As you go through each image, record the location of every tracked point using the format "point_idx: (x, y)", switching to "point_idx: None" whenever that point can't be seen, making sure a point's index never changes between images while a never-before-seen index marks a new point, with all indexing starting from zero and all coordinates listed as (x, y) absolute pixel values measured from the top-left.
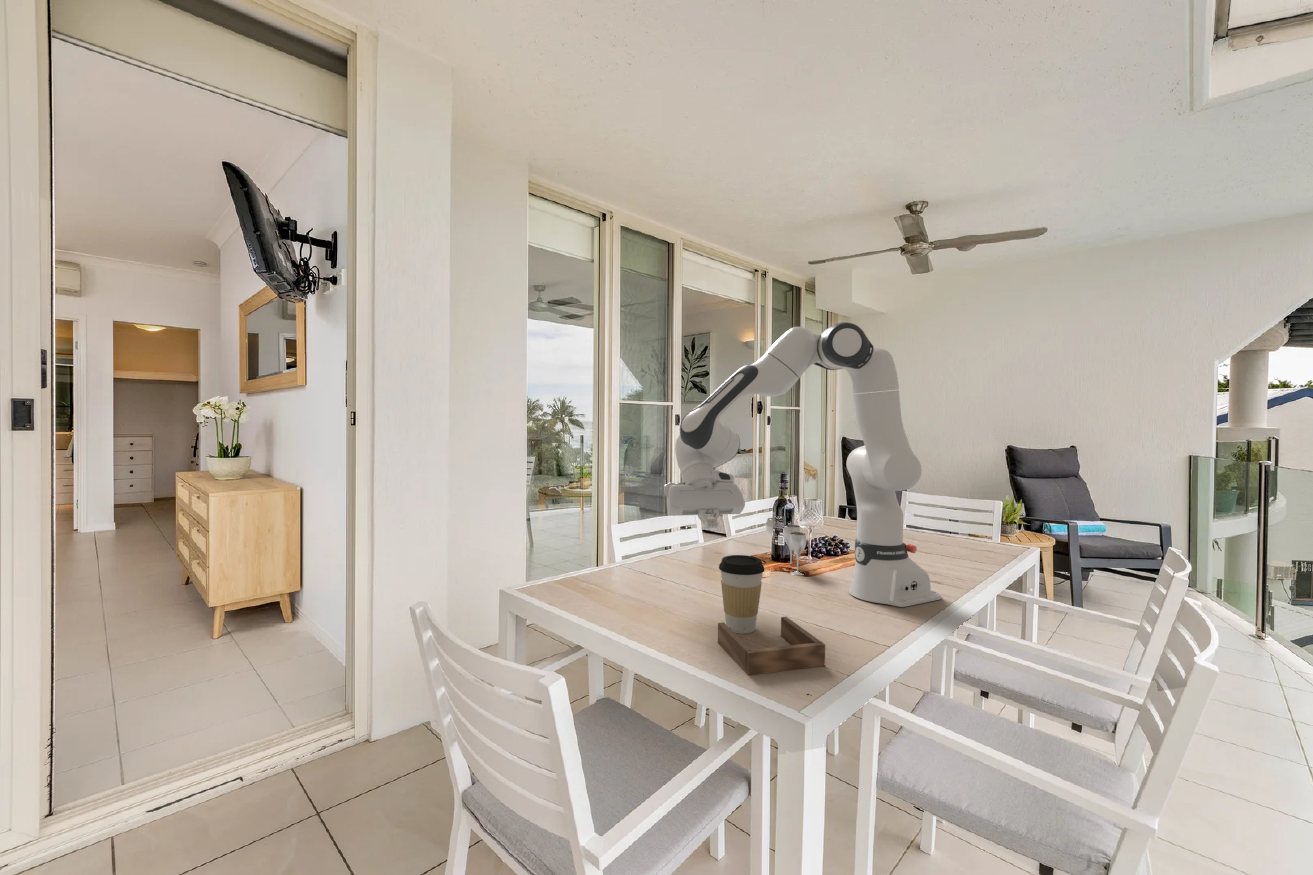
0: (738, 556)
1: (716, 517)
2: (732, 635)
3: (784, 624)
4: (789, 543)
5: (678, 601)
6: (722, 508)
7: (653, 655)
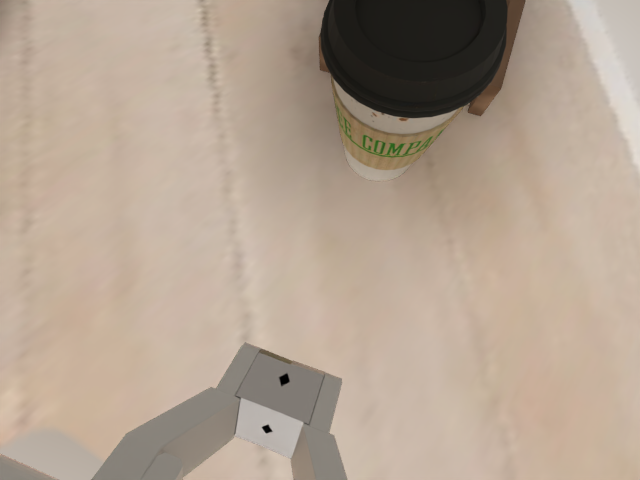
0: (389, 55)
1: (211, 399)
2: (515, 19)
3: None
4: None
5: (401, 406)
6: (25, 469)
7: None
